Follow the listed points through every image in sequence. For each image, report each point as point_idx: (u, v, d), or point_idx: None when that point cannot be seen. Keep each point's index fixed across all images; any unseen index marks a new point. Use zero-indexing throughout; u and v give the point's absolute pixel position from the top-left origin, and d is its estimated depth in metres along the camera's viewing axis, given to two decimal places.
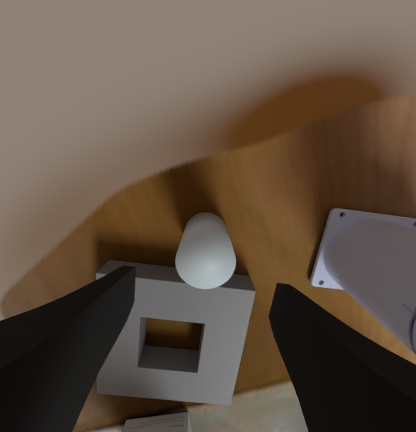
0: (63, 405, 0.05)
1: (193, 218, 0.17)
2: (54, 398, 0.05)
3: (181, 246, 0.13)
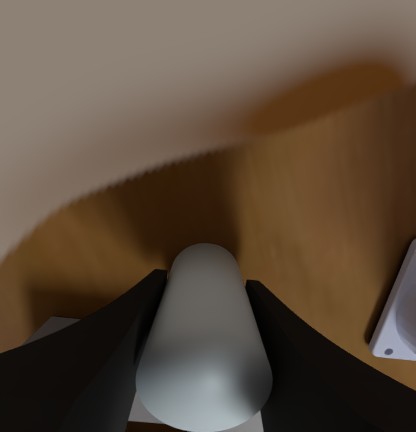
0: (121, 410, 0.05)
1: (183, 257, 0.10)
2: (117, 403, 0.05)
3: (148, 354, 0.06)
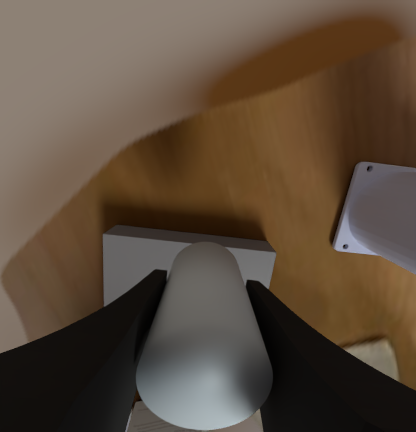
0: (121, 410, 0.05)
1: (184, 255, 0.10)
2: (117, 404, 0.05)
3: (148, 350, 0.06)
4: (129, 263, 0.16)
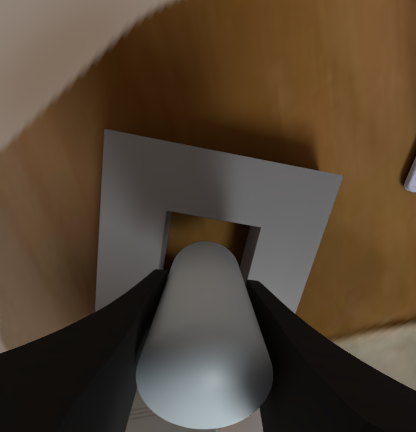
0: (121, 410, 0.05)
1: (184, 255, 0.10)
2: (117, 404, 0.05)
3: (148, 348, 0.06)
4: (139, 177, 0.12)
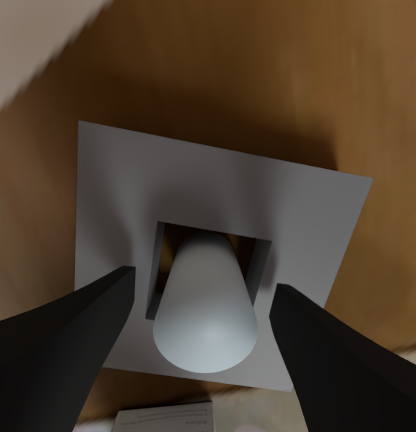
0: (63, 405, 0.05)
1: (187, 242, 0.12)
2: (54, 398, 0.05)
3: (163, 307, 0.07)
4: (122, 181, 0.10)
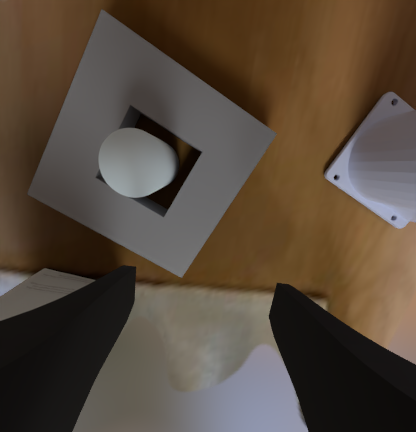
0: (63, 405, 0.05)
1: None
2: (54, 398, 0.05)
3: (112, 134, 0.11)
4: (116, 65, 0.13)
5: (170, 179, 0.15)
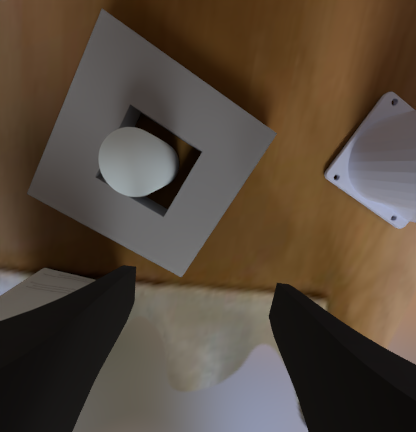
0: (63, 405, 0.05)
1: None
2: (54, 398, 0.05)
3: (112, 133, 0.11)
4: (116, 64, 0.13)
5: (170, 179, 0.15)
